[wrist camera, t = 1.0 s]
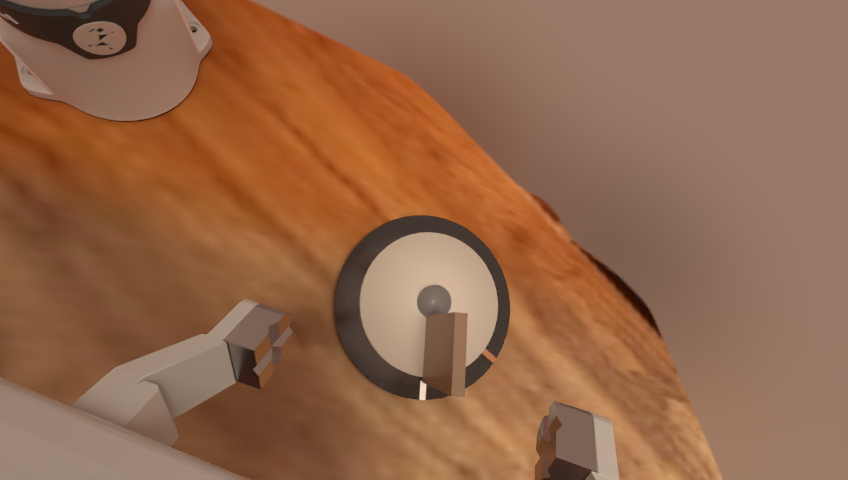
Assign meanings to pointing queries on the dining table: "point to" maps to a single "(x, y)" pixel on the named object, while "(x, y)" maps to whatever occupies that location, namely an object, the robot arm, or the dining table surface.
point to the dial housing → (350, 318)
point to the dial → (429, 308)
